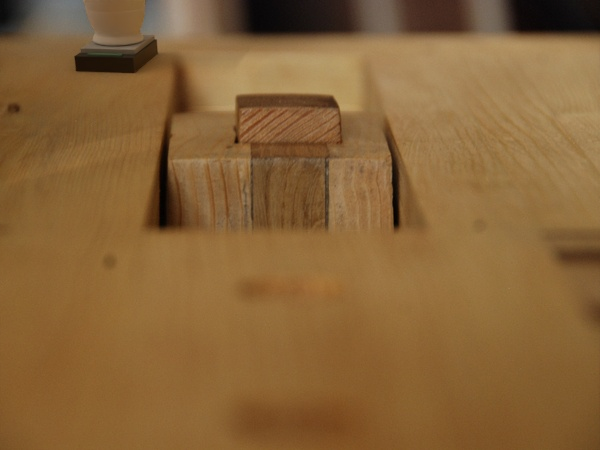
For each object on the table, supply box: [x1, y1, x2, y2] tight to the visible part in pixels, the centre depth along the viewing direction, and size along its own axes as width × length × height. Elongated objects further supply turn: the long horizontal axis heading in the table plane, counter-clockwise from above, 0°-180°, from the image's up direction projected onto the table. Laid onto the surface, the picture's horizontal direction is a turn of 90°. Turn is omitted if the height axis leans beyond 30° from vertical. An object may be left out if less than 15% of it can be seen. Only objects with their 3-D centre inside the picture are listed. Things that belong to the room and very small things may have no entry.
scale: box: [74, 34, 159, 74], centre depth 136 cm, size 10×14×3 cm
